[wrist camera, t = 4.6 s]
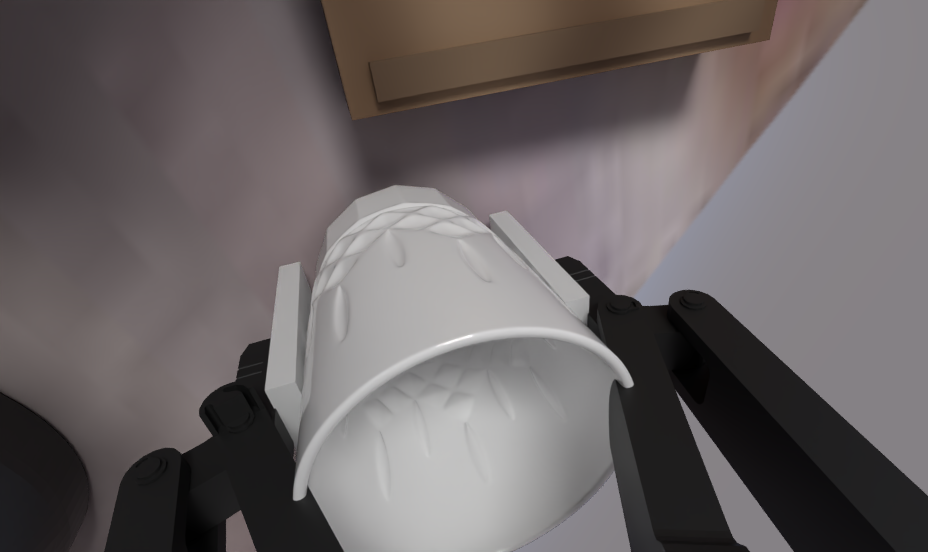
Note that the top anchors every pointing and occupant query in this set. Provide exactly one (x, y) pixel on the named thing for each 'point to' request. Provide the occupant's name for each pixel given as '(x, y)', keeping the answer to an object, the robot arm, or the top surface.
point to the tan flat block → (516, 43)
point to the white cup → (445, 385)
